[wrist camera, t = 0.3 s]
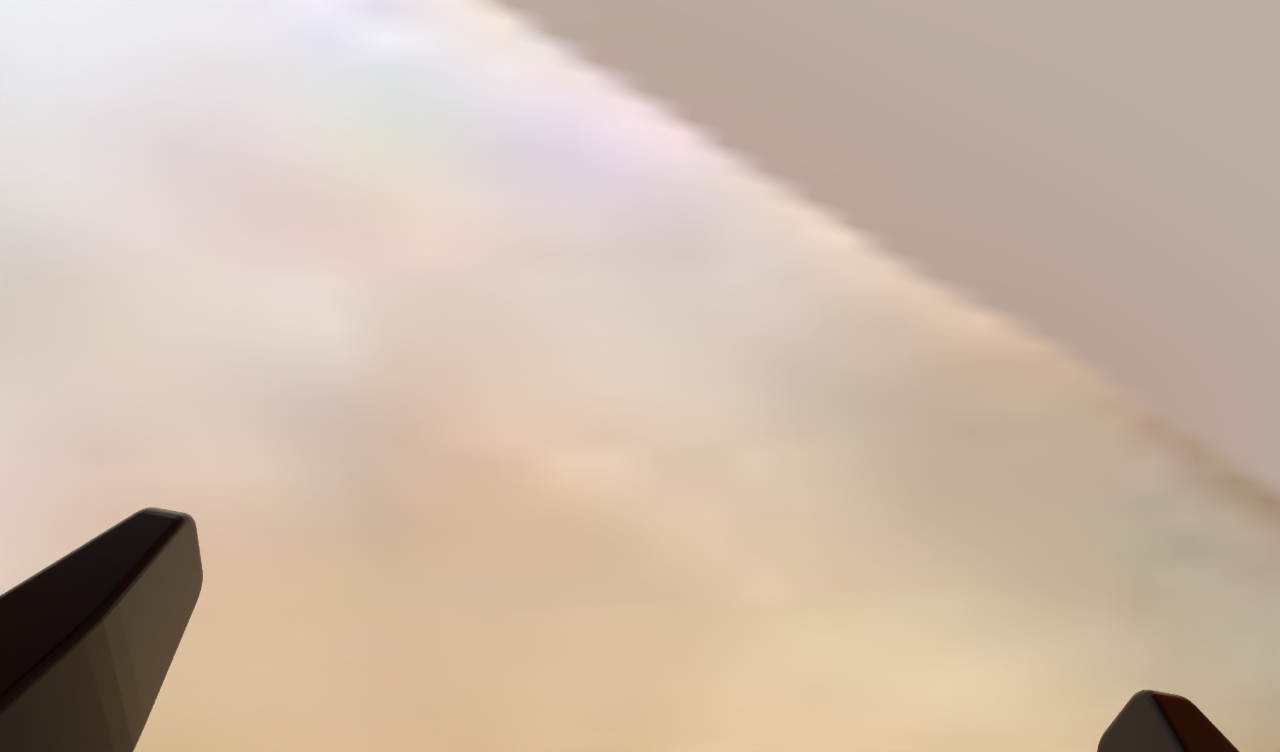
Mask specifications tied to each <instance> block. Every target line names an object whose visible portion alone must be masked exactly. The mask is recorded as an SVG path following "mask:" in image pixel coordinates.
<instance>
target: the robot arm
mask: <svg viewBox="0 0 1280 752" xmlns="http://www.w3.org/2000/svg"><path fill="white" fill-rule="evenodd" d="M202 580H203V571H202V563H201V556H200V549H199V542H198V535H197V528H196V524H195V521H194V519H193V518H192V517H191V516H190V515H188V514H186V513H182V512H177V511H171V510H166V509H160V508H151V507H150V508H145V509H143V510H140V511H138V512H136V513H134V514H133V515H131V516H130V517H128V518H126V519H125V520H123V521H121V522H120V523H118V524H116V525H115V526H113V527H112V528H110V529H108V530H107V531H105V532H103V533H102V534H100V535H99V536H97V537H95V538H94V539H92V540H90V541H89V542H87V543H85V544H84V545H82V546H81V547H79V548H77V549H76V550H74V551H72V552H71V553H69V554H68V555H66V556H64V557H63V558H61V559H59V560H58V561H56V562H54V563H53V564H51V565H50V566H48V567H46V568H45V569H43V570H41V571H40V572H38V573H37V574H35V575H33V576H32V577H30V578H28V579H27V580H25V581H23V582H22V583H20V584H19V585H17V586H15V587H14V588H12V589H10V590H9V591H7V592H6V593H4V594H2V595H1V596H0V752H133V751H134V749H135V747H136V744H137V742H138V740H139V738H140V735H141V733H142V731H143V729H144V726H145V724H146V722H147V719H148V717H149V715H150V712H151V710H152V708H153V705H154V703H155V700H156V698H157V696H158V693H159V691H160V688H161V686H162V684H163V681H164V679H165V677H166V674H167V672H168V669H169V667H170V665H171V662H172V660H173V657H174V655H175V653H176V650H177V648H178V646H179V643H180V641H181V638H182V636H183V634H184V631H185V629H186V627H187V624H188V622H189V619H190V617H191V615H192V612H193V610H194V607H195V605H196V603H197V600H198V597H199V594H200V591H201V587H202ZM1097 752H1239V751H1238V750H1237V749H1236V748H1235V747H1234V746H1233V745H1232V743H1231V742H1230V741H1229V740H1228V739H1227V738H1226V737H1225V736H1224V735H1223V734H1222V733H1221V732H1220V731H1219V730H1218V729H1217V728H1216V727H1215V726H1214V725H1213V724H1212V722H1211V721H1210V720H1209V719H1208V718H1207V717H1206V716H1205V715H1204V714H1203V713H1202V712H1201V711H1200V710H1199V709H1198V708H1197V707H1196V706H1195V705H1194V704H1193V703H1192V702H1191V701H1189V700H1188V699H1186V698H1184V697H1182V696H1179V695H1174V694H1169V693H1163V692H1158V691H1153V690H1142V691H1140V692H1137V693H1136V694H1135V695H1134V696H1133V697H1132V698H1131V699H1130V700H1129V702H1128V703H1127V704H1126V705H1125V707H1124V708H1123V709H1122V711H1121V712H1120V713H1119V714H1118V716H1117V717H1116V718H1115V719H1114V721H1113V722H1112V723H1111V725H1110V726H1109V727H1108V728H1107V730H1106V731H1105V732H1104V734H1103V735H1102V737H1101V739H1100V742H1099V745H1098V750H1097Z"/></svg>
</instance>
